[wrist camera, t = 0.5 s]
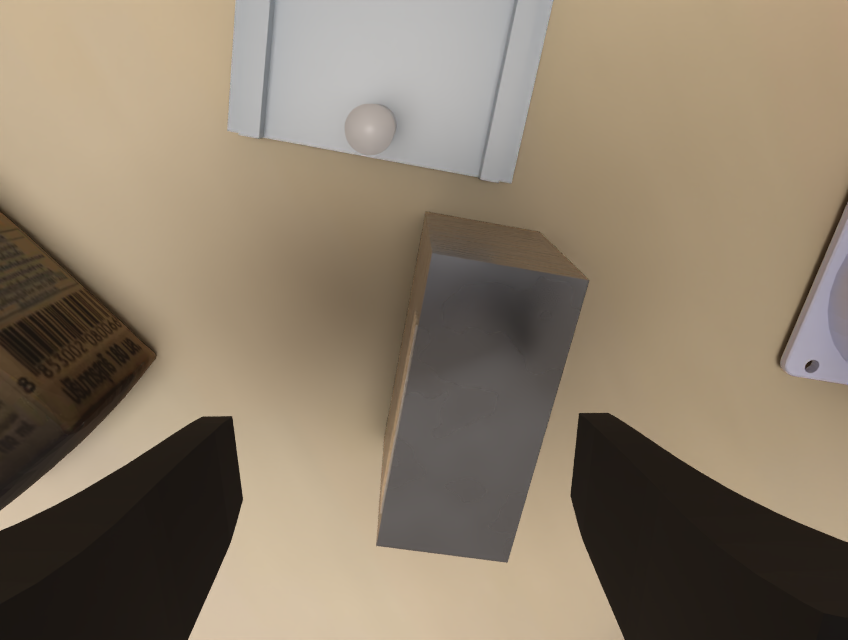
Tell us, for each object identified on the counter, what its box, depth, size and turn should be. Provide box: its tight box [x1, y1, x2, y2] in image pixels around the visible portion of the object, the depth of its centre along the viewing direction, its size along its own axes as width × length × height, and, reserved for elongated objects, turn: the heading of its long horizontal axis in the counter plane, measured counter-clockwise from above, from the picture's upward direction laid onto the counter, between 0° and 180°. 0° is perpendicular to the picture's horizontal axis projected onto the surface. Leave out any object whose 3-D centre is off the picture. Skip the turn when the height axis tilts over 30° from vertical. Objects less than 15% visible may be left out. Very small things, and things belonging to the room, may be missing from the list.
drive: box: [376, 212, 589, 562], centre depth 19 cm, size 4×9×6 cm, turn 170°
